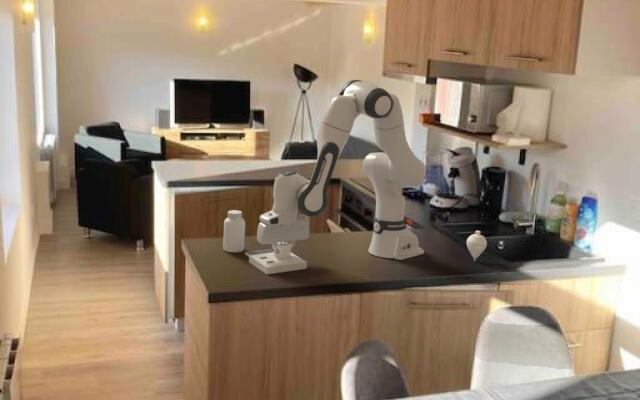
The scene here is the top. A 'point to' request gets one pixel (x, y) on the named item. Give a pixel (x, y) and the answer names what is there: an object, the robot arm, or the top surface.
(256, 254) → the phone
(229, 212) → the pill bottle
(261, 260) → the outlet plate
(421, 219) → the top surface
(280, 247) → the charger
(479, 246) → the spinning top
